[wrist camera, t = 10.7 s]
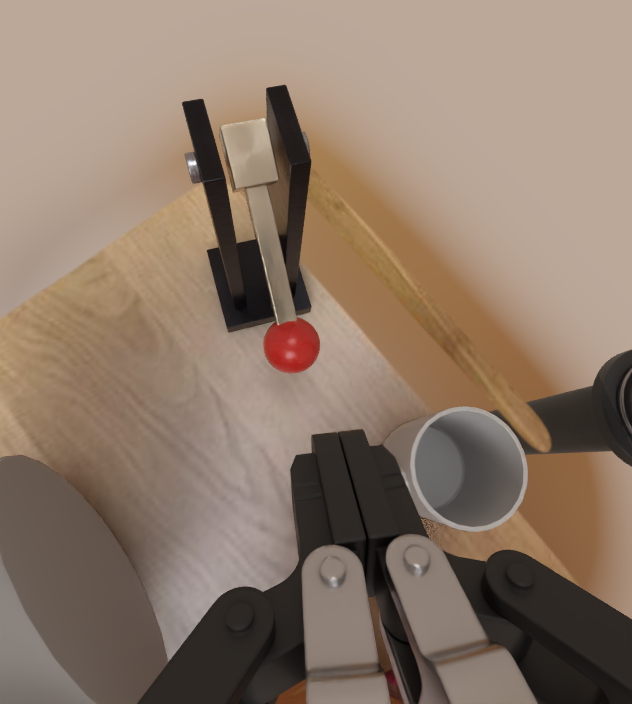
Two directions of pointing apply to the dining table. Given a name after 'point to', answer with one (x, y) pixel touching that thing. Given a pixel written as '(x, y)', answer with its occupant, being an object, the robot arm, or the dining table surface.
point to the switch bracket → (287, 203)
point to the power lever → (268, 242)
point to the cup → (461, 467)
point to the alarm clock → (68, 598)
